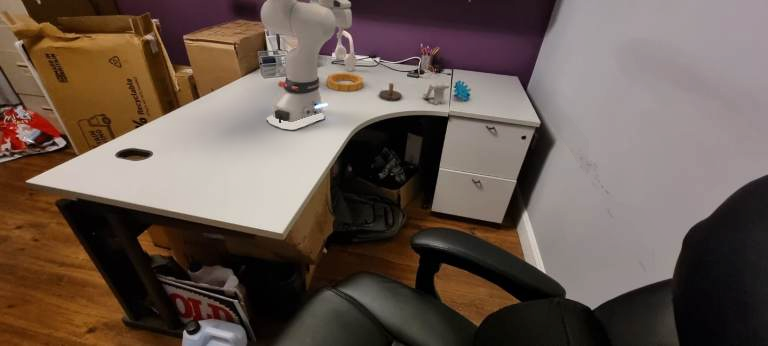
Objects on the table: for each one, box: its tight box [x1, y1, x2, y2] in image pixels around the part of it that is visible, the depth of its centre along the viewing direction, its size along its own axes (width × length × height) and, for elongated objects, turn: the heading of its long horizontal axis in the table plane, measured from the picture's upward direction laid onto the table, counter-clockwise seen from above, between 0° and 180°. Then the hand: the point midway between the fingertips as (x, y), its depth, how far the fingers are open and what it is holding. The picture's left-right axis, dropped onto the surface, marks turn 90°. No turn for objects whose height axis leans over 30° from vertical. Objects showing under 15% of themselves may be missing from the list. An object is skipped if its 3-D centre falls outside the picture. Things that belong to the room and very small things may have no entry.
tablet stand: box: [422, 83, 450, 105], centre depth 145 cm, size 9×8×8 cm
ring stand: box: [379, 82, 402, 102], centre depth 146 cm, size 10×10×6 cm
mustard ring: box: [326, 72, 364, 92], centre depth 155 cm, size 17×17×3 cm
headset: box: [332, 30, 357, 72], centre depth 174 cm, size 20×7×18 cm, turn 26°
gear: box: [453, 79, 472, 102], centre depth 152 cm, size 11×6×10 cm
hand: (329, 36), depth 141 cm, fingers open, 8 cm apart
